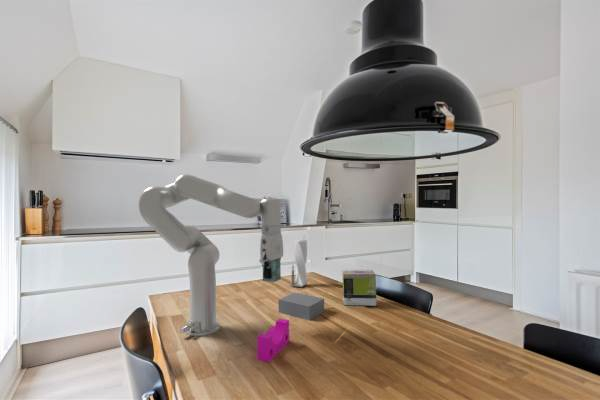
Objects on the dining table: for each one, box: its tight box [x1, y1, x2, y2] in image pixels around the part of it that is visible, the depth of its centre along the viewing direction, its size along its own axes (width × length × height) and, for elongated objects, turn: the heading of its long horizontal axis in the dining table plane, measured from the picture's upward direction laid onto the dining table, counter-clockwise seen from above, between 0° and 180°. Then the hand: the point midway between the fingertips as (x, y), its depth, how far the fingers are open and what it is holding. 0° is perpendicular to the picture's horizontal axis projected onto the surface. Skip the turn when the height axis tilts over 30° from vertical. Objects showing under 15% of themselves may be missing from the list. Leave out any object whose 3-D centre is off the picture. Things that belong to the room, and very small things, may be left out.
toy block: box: [257, 318, 290, 363], centre depth 102 cm, size 15×6×8 cm, turn 157°
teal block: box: [262, 259, 282, 283], centre depth 120 cm, size 5×5×8 cm
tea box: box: [341, 269, 377, 307], centre depth 147 cm, size 15×10×15 cm, turn 84°
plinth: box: [278, 291, 325, 321], centre depth 135 cm, size 12×16×6 cm
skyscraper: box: [290, 235, 308, 288], centre depth 178 cm, size 8×8×28 cm
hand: (271, 276), depth 120 cm, fingers closed on teal block, 5 cm apart
